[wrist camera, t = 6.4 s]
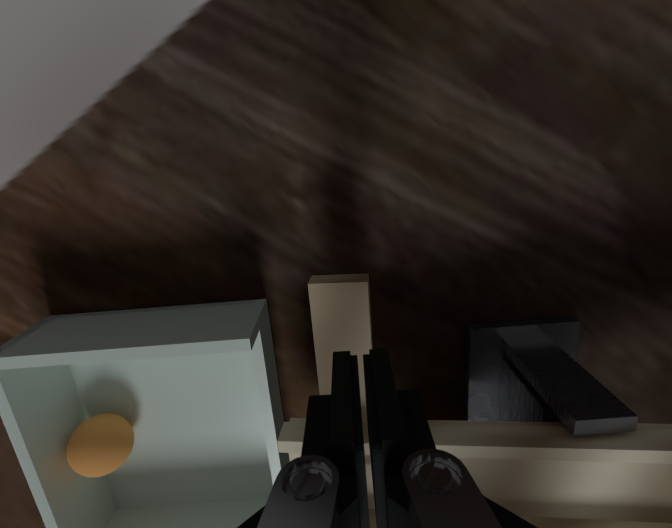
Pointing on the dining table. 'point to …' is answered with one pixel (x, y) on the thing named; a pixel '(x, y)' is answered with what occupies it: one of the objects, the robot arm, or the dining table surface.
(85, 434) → the ball
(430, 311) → the dining table surface
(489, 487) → the lever
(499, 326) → the fulcrum
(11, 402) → the tray
